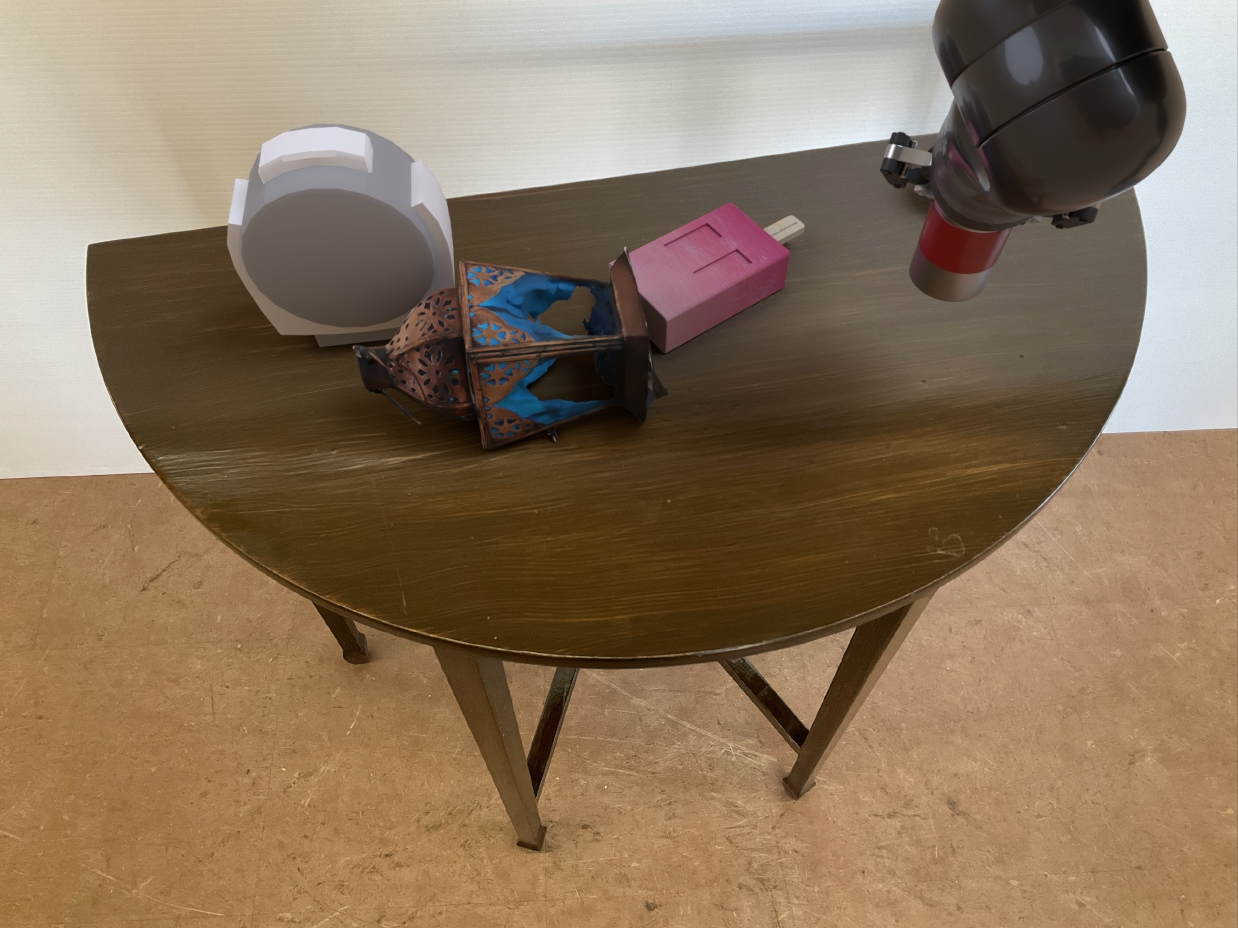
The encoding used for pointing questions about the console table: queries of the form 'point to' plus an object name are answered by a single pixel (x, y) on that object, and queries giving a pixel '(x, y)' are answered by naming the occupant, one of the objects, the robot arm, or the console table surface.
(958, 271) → the can
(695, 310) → the popsicle
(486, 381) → the lantern
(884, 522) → the console table surface
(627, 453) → the console table surface
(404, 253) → the alarm clock
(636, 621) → the console table surface
